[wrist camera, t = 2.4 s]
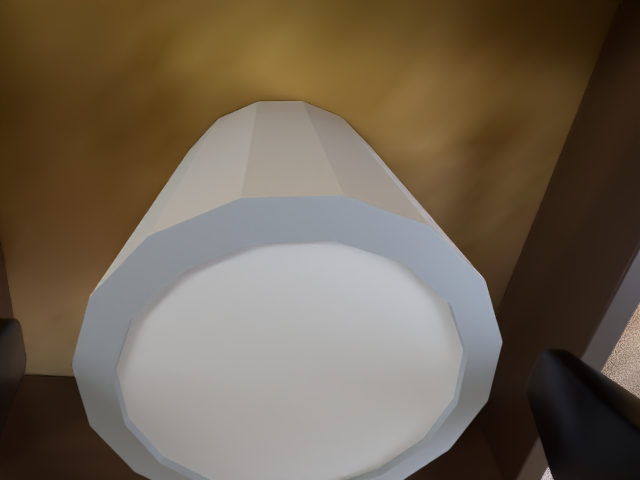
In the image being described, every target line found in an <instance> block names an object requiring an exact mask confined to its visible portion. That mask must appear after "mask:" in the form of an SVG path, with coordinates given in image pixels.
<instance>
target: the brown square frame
mask: <svg viewBox="0 0 640 480" xmlns="http://www.w3.org/2000/svg"><path fill="white" fill-rule="evenodd" d="M639 303H640V0H622V1H621V3H620V6H619V8H618V11H617V13H616V16H615V18H614V21H613V23H612V26H611V28H610V31H609V33H608V36H607V38H606V41H605V43H604V46H603V48H602V51H601V53H600V56H599V59H598V61H597V64H596V66H595V69H594V71H593V74H592V76H591V79H590V81H589V84H588V86H587V89H586V91H585V94H584V96H583V99H582V101H581V104H580V106H579V109H578V111H577V114H576V116H575V119H574V121H573V124H572V126H571V129H570V131H569V134H568V137H567V139H566V142H565V144H564V147H563V149H562V152H561V154H560V157H559V159H558V162H557V164H556V167H555V169H554V172H553V174H552V177H551V179H550V182H549V184H548V187H547V189H546V192H545V194H544V197H543V199H542V202H541V204H540V207H539V209H538V212H537V215H536V217H535V220H534V222H533V225H532V227H531V230H530V232H529V235H528V237H527V240H526V242H525V245H524V247H523V250H522V252H521V255H520V257H519V260H518V262H517V265H516V267H515V270H514V272H513V275H512V277H511V280H510V282H509V285H508V287H507V290H506V292H505V295H504V298H503V300H502V303H501V305H500V308H499V310H498V313H497V315H496V320H497V324H498V328H499V331H500V335H501V338H502V346H501V350H500V354H499V358H498V362H497V366H496V370H495V374H494V378H493V382H492V386H491V390H490V394H489V398H488V401H487V402H486V404H485V405H484V406H483V407H482V409H481V410H480V411H479V412H478V414H477V415H476V416H475V418H474V419H473V420H472V421H471V423H470V424H469V425H468V426H467V428H466V429H465V430H464V432H463V433H462V434H461V435H460V437H459V438H458V439H457V440H456V442H455V443H454V444H453V446H452V447H451V448H450V449H449V450H448V451H446V452H445V453H443V454H442V455H440V456H439V457H437V458H436V459H434V460H433V461H431V462H429V463H428V464H426V465H425V466H423V467H422V468H420V469H419V470H417V471H416V472H414V473H413V474H411V475H410V476H408V477H407V478H405V479H404V480H541V478H542V476H543V475H544V473H545V471H546V469H547V467H548V463H547V460H546V457H545V453H544V450H543V447H542V444H541V440H540V437H539V434H538V430H537V427H536V424H535V421H534V417H533V414H532V411H531V407H530V404H529V401H528V398H527V394H526V381H527V378H528V376H529V374H530V372H531V370H532V367H533V365H534V363H535V361H536V359H537V357H538V355H539V353H540V352H541V351H542V350H543V349H547V348H549V349H564V350H567V351H569V352H570V353H572V354H573V355H575V356H576V357H578V358H579V359H581V360H582V361H584V362H585V363H587V364H588V365H590V366H591V367H593V368H594V369H596V370H597V371H599V372H600V373H601V371H602V369H603V367H604V366H605V364H606V362H607V360H608V358H609V357H610V355H611V353H612V351H613V349H614V348H615V346H616V344H617V342H618V340H619V339H620V337H621V335H622V333H623V332H624V330H625V328H626V326H627V324H628V323H629V321H630V319H631V317H632V315H633V314H634V312H635V310H636V308H637V307H638V305H639ZM0 317H3V318H14V317H13V311H12V305H11V300H10V294H9V288H8V283H7V277H6V271H5V266H4V260H3V254H2V249H1V243H0ZM0 480H151V479H149V478H147V477H144V476H142V475H140V474H138V473H136V472H134V471H133V470H132V469H131V468H130V467H129V465H128V464H127V463H126V462H125V461H124V460H123V459H122V458H121V457H120V456H119V455H118V454H117V453H116V452H115V451H114V450H113V449H112V448H111V447H110V446H109V445H108V444H107V443H106V442H105V441H104V440H103V439H102V438H101V437H100V436H99V435H98V433H97V432H96V431H95V430H94V429H93V428H92V427H91V426H90V424H89V421H88V418H87V414H86V411H85V408H84V404H83V401H82V398H81V395H80V391H79V388H78V385H77V381H76V378H68V377H43V376H23V378H22V380H21V383H20V386H19V389H18V391H17V394H16V397H15V400H14V403H13V405H12V408H11V411H10V414H9V416H8V419H7V422H6V425H5V428H4V430H3V433H2V436H1V439H0Z"/></svg>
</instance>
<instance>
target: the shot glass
mask: <svg viewBox="0 0 640 480" xmlns="http://www.w3.org/2000/svg"><path fill="white" fill-rule="evenodd" d="M501 346H502V338H501V335H500V331H499V328H498V324H497V320H496V317H495V313H494V310H493V306H492V303H491V299H490V295H489V292H488V288H487V285H486V281H485V279H484V278H483V277H482V276H481V275H480V273H479V272H478V271H477V270H476V269H475V268H474V266H473V265H472V264H471V263H470V262H469V261H468V259H467V258H466V257H465V256H464V255H463V254H462V253H461V251H460V250H459V249H458V248H457V247H456V246H455V244H454V243H453V242H452V241H451V240H450V239H449V237H448V236H447V235H446V234H445V233H444V232H443V230H442V229H441V228H440V227H439V226H438V225H437V223H436V222H435V221H434V220H433V219H432V218H431V216H430V215H429V214H428V213H427V212H426V211H425V209H424V208H423V207H422V206H421V205H420V204H419V202H418V201H417V200H416V199H415V198H414V197H413V195H412V194H411V193H410V192H409V191H408V190H407V188H406V187H405V186H404V185H403V184H402V183H401V182H400V180H399V179H398V178H397V177H396V176H395V175H394V173H393V172H392V171H391V170H390V169H389V168H388V166H387V165H386V164H385V163H384V162H383V161H382V159H381V158H380V157H379V156H378V155H377V154H376V152H375V151H374V150H373V149H372V148H371V147H370V145H369V144H368V143H367V142H366V141H365V140H364V139H363V138H362V137H361V136H360V135H359V134H358V133H357V132H356V131H355V130H354V129H353V128H352V127H351V126H350V125H349V124H348V123H347V122H346V121H345V120H344V119H343V118H342V117H340V116H338V115H336V114H333V113H331V112H328V111H326V110H323V109H321V108H318V107H316V106H313V105H311V104H308V103H306V102H303V101H258V102H256V103H253V104H251V105H249V106H246V107H244V108H242V109H239V110H237V111H235V112H232V113H230V114H228V115H225V116H223V117H221V118H218V119H217V120H216V121H215V123H214V124H213V125H212V126H211V127H210V128H209V129H208V130H207V131H206V132H205V133H204V134H203V135H202V137H201V138H200V139H199V140H198V141H197V142H196V143H195V144H194V145H193V146H192V147H191V148H190V150H189V151H188V153H187V154H186V156H185V157H184V159H183V160H182V161H181V163H180V164H179V166H178V167H177V169H176V170H175V172H174V173H173V175H172V176H171V178H170V179H169V181H168V182H167V184H166V185H165V186H164V188H163V189H162V191H161V192H160V194H159V195H158V197H157V198H156V200H155V201H154V203H153V204H152V206H151V207H150V209H149V210H148V211H147V213H146V214H145V216H144V217H143V219H142V220H141V222H140V223H139V225H138V226H137V228H136V229H135V231H134V232H133V234H132V235H131V236H130V238H129V239H128V241H127V242H126V244H125V245H124V247H123V248H122V250H121V251H120V253H119V254H118V256H117V257H116V259H115V260H114V261H113V263H112V264H111V266H110V267H109V269H108V270H107V272H106V273H105V275H104V276H103V278H102V279H101V281H100V282H99V284H98V285H97V286H96V288H95V289H94V291H93V292H92V294H91V295H90V297H89V300H88V304H87V308H86V312H85V316H84V319H83V323H82V327H81V331H80V334H79V338H78V342H77V346H76V350H75V353H74V357H73V361H72V368H73V372H74V375H75V378H76V381H77V385H78V388H79V391H80V395H81V398H82V401H83V404H84V408H85V411H86V414H87V418H88V421H89V424H90V426H91V427H92V428H93V429H94V430H95V431H96V432H97V433H98V435H99V436H100V437H101V438H102V439H103V440H104V441H105V442H106V443H107V444H108V445H109V446H110V447H111V448H112V449H113V450H114V451H115V452H116V453H117V454H118V455H119V456H120V457H121V458H122V459H123V460H124V461H125V462H126V463H127V464H128V465H129V467H130V468H131V469H132V470H133V471H134V472H136V473H138V474H140V475H142V476H144V477H147V478H149V479H151V480H404V479H405V478H407V477H408V476H410V475H411V474H413V473H414V472H416V471H417V470H419V469H420V468H422V467H423V466H425V465H426V464H428V463H429V462H431V461H433V460H434V459H436V458H437V457H439V456H440V455H442V454H443V453H445V452H446V451H448V450H449V449H450V448H451V447H452V446H453V444H454V443H455V442H456V440H457V439H458V438H459V437H460V435H461V434H462V433H463V432H464V430H465V429H466V428H467V426H468V425H469V424H470V423H471V421H472V420H473V419H474V418H475V416H476V415H477V414H478V412H479V411H480V410H481V409H482V407H483V406H484V405H485V404H486V402H487V401H488V398H489V394H490V390H491V386H492V382H493V378H494V374H495V370H496V366H497V362H498V358H499V354H500V350H501Z"/></svg>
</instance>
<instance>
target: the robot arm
mask: <svg viewBox="0 0 640 480" xmlns="http://www.w3.org/2000/svg"><path fill="white" fill-rule="evenodd" d="M25 368H26V353H25V347H24V341H23V335H22V329H21V325H20V323H19V321H18V320H17V319H15V318H3V317H0V439H1V436H2V433H3V430H4V428H5V425H6V422H7V419H8V416H9V414H10V411H11V408H12V405H13V403H14V400H15V397H16V394H17V391H18V389H19V386H20V383H21V380H22V378H23V375H24V372H25ZM526 394H527V398H528V401H529V404H530V407H531V411H532V414H533V417H534V421H535V424H536V427H537V430H538V434H539V437H540V440H541V444H542V447H543V450H544V453H545V457H546V460H547V463H548V466H549V469H550V471H551V474H552V477H553V479H554V480H640V399H639V398H638V397H636V396H635V395H633V394H632V393H630V392H629V391H627V390H626V389H624V388H623V387H621V386H620V385H618V384H617V383H615V382H614V381H612V380H611V379H609V378H608V377H606V376H605V375H603V374H602V373H600V372H599V371H597V370H596V369H594V368H593V367H591V366H590V365H588V364H587V363H585V362H584V361H582V360H581V359H579V358H578V357H576V356H575V355H573V354H572V353H570V352H569V351H567V350H564V349H549V348H547V349H543V350H542V351H541V352H540V353H539V355H538V357H537V359H536V361H535V363H534V365H533V367H532V370H531V372H530V374H529V376H528V378H527V381H526Z"/></svg>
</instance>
